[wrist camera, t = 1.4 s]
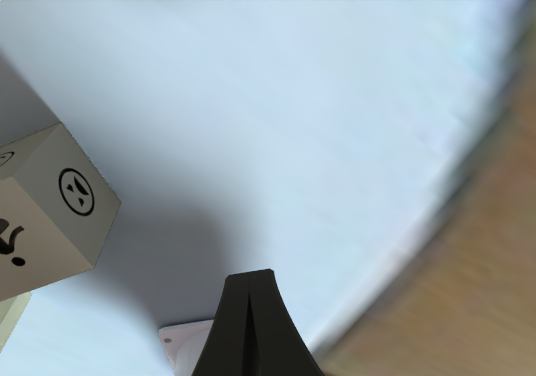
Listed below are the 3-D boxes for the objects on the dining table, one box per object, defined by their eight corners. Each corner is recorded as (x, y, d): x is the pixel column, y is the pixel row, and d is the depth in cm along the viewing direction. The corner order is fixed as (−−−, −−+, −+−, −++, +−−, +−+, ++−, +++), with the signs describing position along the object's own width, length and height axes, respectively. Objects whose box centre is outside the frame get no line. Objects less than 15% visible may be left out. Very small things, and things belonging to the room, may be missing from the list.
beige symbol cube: (62, 121, 18) (11, 176, 14) (121, 201, 21) (94, 268, 17) (-28, 158, 19) (-102, 222, 14) (41, 231, 21) (-5, 303, 17)
